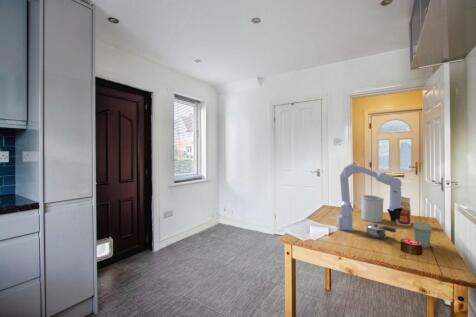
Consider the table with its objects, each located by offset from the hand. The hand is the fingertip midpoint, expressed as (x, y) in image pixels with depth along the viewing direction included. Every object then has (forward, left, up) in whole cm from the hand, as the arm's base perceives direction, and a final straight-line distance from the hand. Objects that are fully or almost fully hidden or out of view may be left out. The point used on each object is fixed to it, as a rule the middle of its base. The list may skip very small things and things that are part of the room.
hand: (394, 220), depth 140 cm
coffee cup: (+9, -11, -11) cm, 18 cm away
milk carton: (+19, +29, -11) cm, 36 cm away
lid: (-8, -1, -5) cm, 10 cm away
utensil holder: (+1, +36, -11) cm, 38 cm away
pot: (-10, 0, -10) cm, 15 cm away
